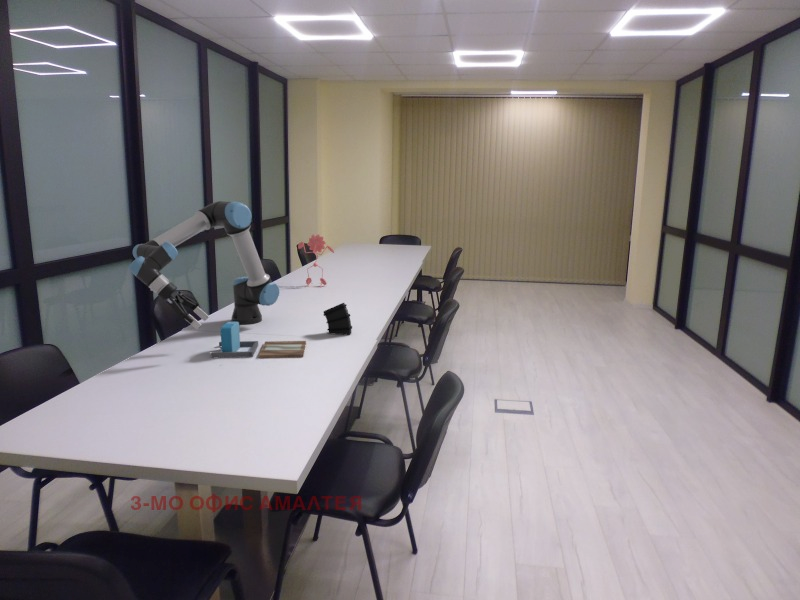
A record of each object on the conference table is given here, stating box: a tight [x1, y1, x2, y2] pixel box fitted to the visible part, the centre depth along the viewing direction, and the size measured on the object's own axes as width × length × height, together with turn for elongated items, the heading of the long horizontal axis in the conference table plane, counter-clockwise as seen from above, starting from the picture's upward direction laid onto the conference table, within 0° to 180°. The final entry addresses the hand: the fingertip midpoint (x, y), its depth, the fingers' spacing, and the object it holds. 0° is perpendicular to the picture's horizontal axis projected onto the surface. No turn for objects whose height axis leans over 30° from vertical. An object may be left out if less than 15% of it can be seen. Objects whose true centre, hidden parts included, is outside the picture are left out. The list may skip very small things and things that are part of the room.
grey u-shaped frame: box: [210, 340, 259, 359], centre depth 244 cm, size 16×17×2 cm
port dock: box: [258, 340, 307, 359], centre depth 246 cm, size 20×18×1 cm
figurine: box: [297, 234, 335, 287], centre depth 389 cm, size 15×26×35 cm, turn 80°
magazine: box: [323, 302, 353, 336], centre depth 272 cm, size 4×13×15 cm, turn 76°
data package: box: [220, 321, 241, 352], centre depth 242 cm, size 12×4×12 cm, turn 0°
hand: (203, 323), depth 239 cm, fingers open, 13 cm apart
